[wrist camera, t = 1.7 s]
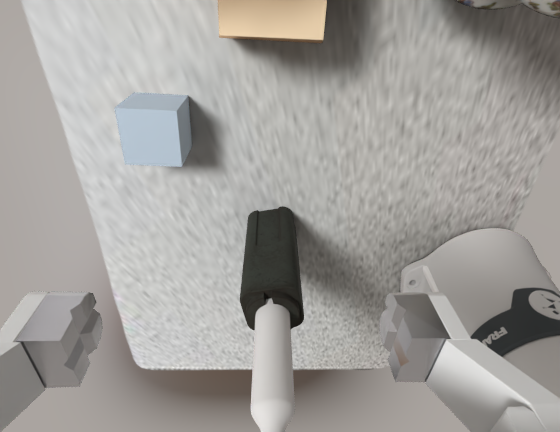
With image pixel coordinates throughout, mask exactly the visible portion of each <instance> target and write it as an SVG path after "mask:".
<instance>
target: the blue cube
mask: <svg viewBox="0 0 560 432" xmlns="http://www.w3.org/2000/svg"><path fill="white" fill-rule="evenodd" d="M115 114H116V119H117V124H118V129H119V135H120V140H121V145H122V151H123V156H124V161H125V164H129V165H153V166H177V167H182V166H183V164H184V162H185V160H186V158H187V156H188V154H189V152H190V149H191V147H192V137H191V124H190V112H189V99H188V95H172V94H153V93H133V94H131V95H130V96H129V97H128V98H126V99H125V100H124V101H122V102H121V103H120V104H119V105H117V106H116V107H115Z"/></svg>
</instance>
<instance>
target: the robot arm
mask: <svg viewBox="0 0 560 432" xmlns="http://www.w3.org/2000/svg"><path fill="white" fill-rule="evenodd" d="M412 280H413V281H412ZM95 304H96V300H95V297H94V295H93V293H89V292H55V291H52V292H42V291H41V292H39V291H32V292H30V293H28V294H26V295H25V296H24V298H23V299H22V301H21V302H20V303H19V305H18V306H17V307H16V309H15V310H14V311H13V313H12V314H11V316H10V317H9V319H8V320H7V321H6V322H5V324H4V325H3V326H2V328H1V329H0V432H1V431H2V430H3V429H4V428H5V427H6V426H8V425H9V424H10V423H11V422H12V421H13V420H14V419H15V418H16V417H17V416H18V415H19V414H20V413H21V412H22V411H23V410H25V409H26V408H27V407H28V406H29V405H30V404H31V403H32V402H33V401H34V400H35V399H36V398H37V397H38V396H39V395H40V394H41V393H42V392H44V391H45V388H53V387H77V386H80V385H81V383H82V380H83V378H84V376H85V374H86V371H87V369H88V367H89V365H90V362H89V359H88V355H89V354H90V353H91V352H93V351H94V350H95V349H96V348H97V346H98V344H99V341H100V339H101V333H102V319H101V316H100V313H98V312H97V311H96V310H95V309H93V308H94V306H95ZM385 304H386V307H387V309H386V310H385V311H384V312H382V313H381V317H380V321H379V331H380V337H381V340H382V344H383V346H384V347H385V348H386V349H387V350H388V351H389V352H390V355H389V358H388V362H389V365H390V367H391V370H392V373H393V376H394V379H395V381H396V382H426V385H427V386H428V387H429V388H430V389H431V390H432V391H433V392H434V393H435V394H436V395H437V396H438V397H439V398H440V400H441V401H442V402H443V403H444V404H445V405H446V406H447V407H448V408H449V409H450V410H451V411H452V412H453V413H454V414H455V415H456V417H457V418H458V419H459V420H460V421H461V422H462V423H463V424H464V425H465V426H466V427H467V428H468V429H469V430H470V431H471V432H560V291H559V290H558V289H557V287H556V286H555V284H554V283H553V282H552V280H551V276H550V274H549V273H548V271H547V270H546V269H545V268H544V267H543V266H542V265H541V263H540V262H539V260H538V258H537V256H536V254H535V252H534V250H533V248H532V246H531V244H530V243H529V241H528V240H527V239H526V238H525V237H523V236H522V235H520V234H518V233H516V232H514V231H511V230H507V229H500V228H487V229H479V230H474V231H471V232H467V233H464V234H462V235H459V236H457V237H455V238H453V239H451V240H449V241H447V242H446V243H444V244H443V245H441V246H440V247H438V248H437V249H436V250H435V251H433V252H432V253H431V254H430V255H428V256H427V257H425V258H424V259H421V260H419V261H416V262H414V263H412V264H409V265H408V266H406V267H405V268H404V269H403V270H402V272H401V285H400V293H389V294H388V295H387V297H386V300H385Z"/></svg>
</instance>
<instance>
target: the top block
mask: <svg viewBox="0 0 560 432" xmlns="http://www.w3.org/2000/svg"><path fill="white" fill-rule="evenodd" d="M326 6H327V0H218V15H219V35H222V36H244V37H267V38H289V39H311V40H323V37H324V27H325V16H326Z"/></svg>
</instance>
